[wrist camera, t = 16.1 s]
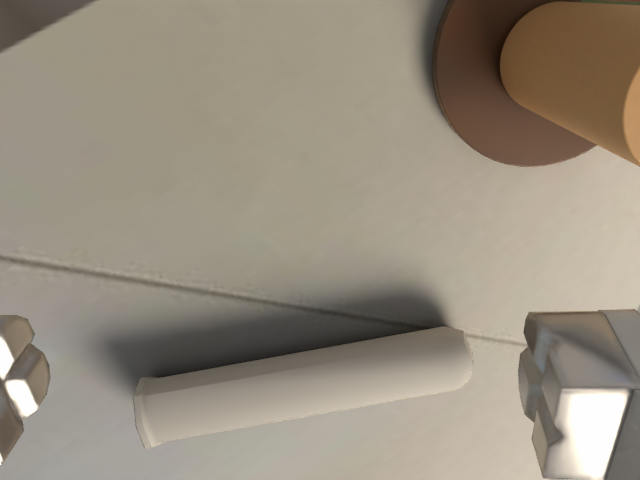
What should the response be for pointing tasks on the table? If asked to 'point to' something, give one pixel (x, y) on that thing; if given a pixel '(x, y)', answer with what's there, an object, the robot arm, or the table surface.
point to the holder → (493, 86)
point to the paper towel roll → (580, 70)
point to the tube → (301, 384)
